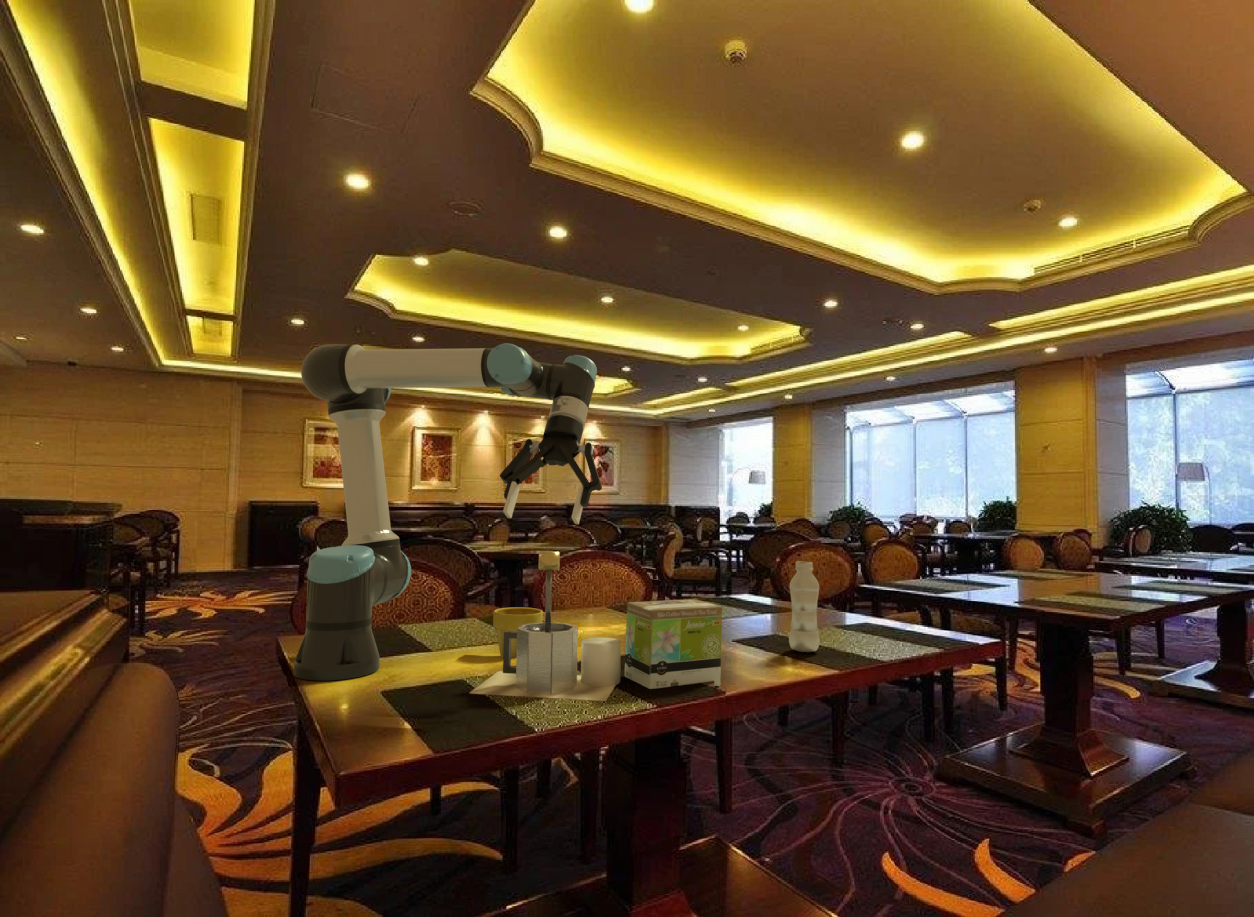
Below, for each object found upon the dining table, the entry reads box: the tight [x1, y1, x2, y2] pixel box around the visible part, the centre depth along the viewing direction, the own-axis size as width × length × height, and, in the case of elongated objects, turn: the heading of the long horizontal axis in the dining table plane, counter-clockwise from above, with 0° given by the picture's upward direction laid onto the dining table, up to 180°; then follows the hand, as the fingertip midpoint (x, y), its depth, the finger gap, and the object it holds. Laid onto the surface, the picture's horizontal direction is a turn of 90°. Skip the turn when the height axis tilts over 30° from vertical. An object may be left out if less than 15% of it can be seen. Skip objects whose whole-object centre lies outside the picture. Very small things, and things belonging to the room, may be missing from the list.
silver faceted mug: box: [502, 621, 579, 695], centre depth 118 cm, size 13×10×10 cm
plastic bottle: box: [788, 560, 820, 653], centre depth 154 cm, size 6×7×20 cm
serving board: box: [469, 670, 616, 702], centre depth 119 cm, size 23×15×1 cm, turn 82°
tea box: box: [624, 599, 723, 690], centre depth 125 cm, size 15×10×15 cm, turn 117°
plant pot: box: [492, 606, 544, 658], centre depth 144 cm, size 10×10×10 cm
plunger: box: [533, 550, 561, 632], centre depth 119 cm, size 7×7×15 cm
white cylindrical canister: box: [580, 636, 622, 687], centre depth 122 cm, size 7×7×7 cm
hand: (540, 518), depth 128 cm, fingers open, 13 cm apart
